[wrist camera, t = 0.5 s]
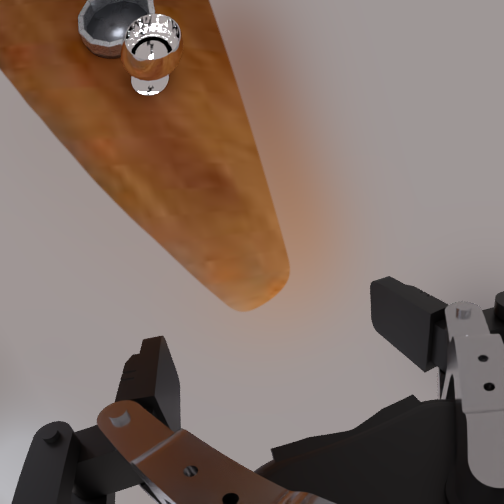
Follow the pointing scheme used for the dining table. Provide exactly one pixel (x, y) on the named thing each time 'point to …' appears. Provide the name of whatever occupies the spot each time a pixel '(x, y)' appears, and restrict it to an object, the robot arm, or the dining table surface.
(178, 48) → the wineglass
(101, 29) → the grey bowl
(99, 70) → the dining table surface
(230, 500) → the robot arm
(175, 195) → the dining table surface
